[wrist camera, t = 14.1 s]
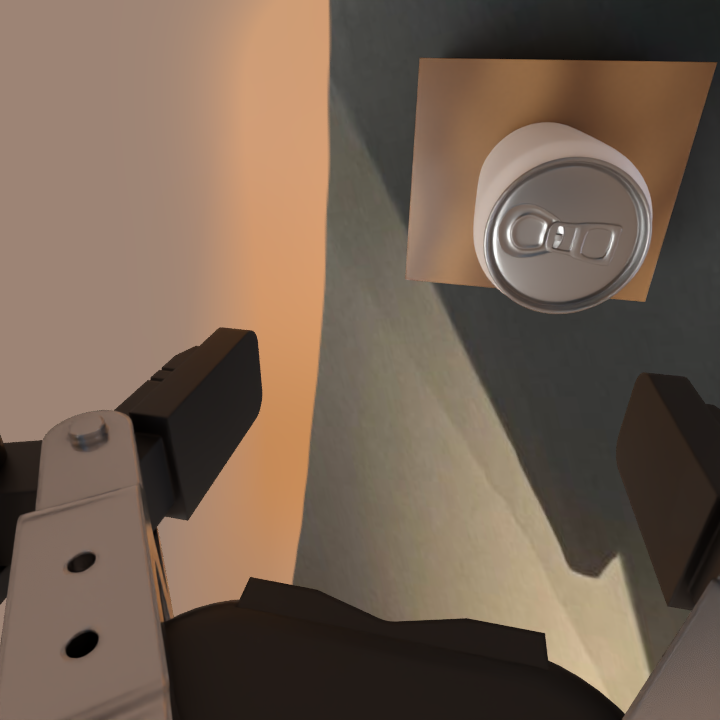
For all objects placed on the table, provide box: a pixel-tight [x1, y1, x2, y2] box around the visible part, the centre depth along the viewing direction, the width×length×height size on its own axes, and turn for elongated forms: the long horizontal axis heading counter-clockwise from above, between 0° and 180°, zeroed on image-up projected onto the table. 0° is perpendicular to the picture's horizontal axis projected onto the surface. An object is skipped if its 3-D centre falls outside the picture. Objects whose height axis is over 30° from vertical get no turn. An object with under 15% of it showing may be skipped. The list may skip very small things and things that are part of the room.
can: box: [473, 122, 652, 314], centre depth 23 cm, size 6×6×12 cm
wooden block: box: [405, 58, 717, 302], centre depth 32 cm, size 14×12×8 cm
